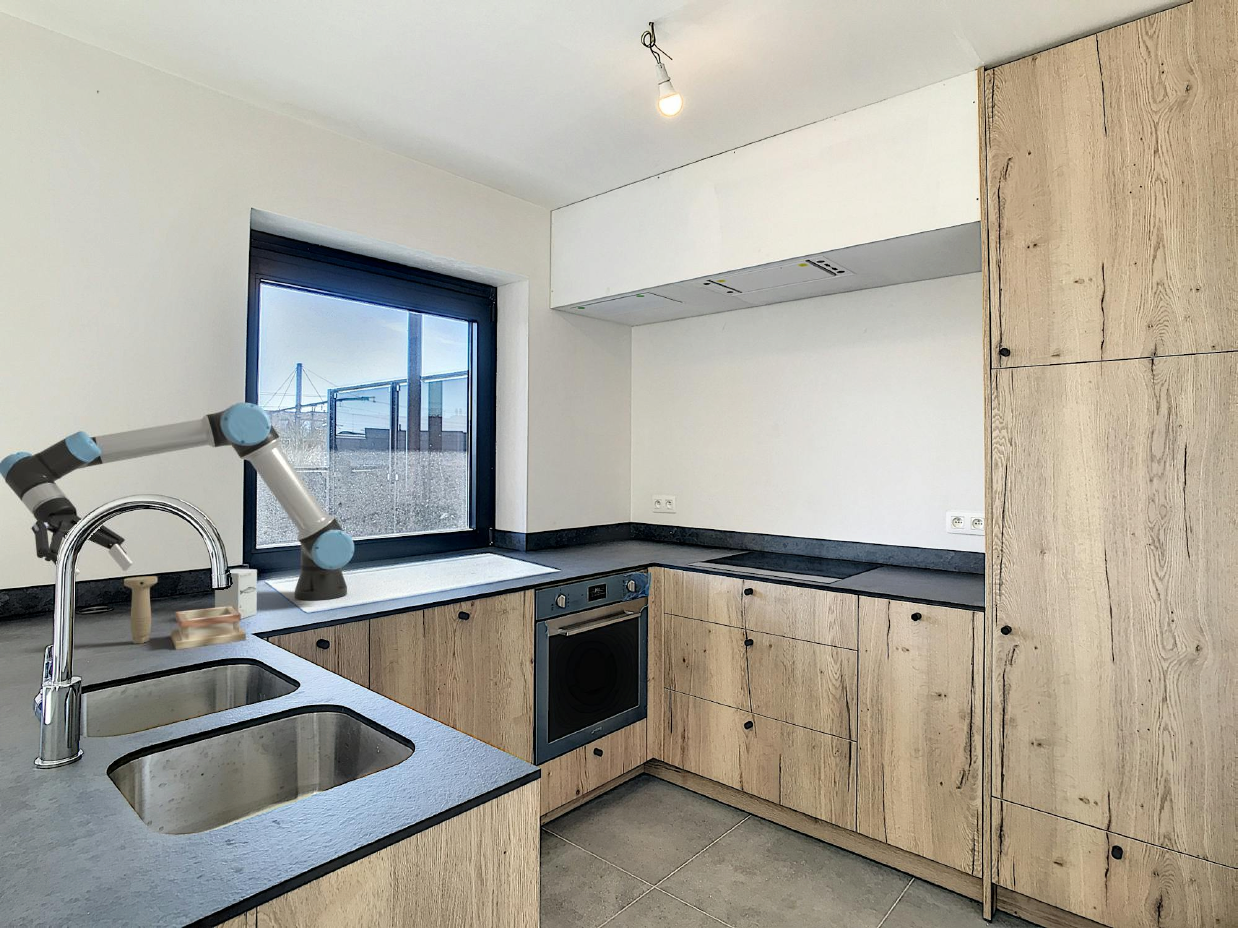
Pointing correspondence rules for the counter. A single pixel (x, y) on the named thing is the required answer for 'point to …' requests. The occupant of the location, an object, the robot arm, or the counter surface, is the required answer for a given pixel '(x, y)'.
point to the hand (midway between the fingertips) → (103, 571)
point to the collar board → (207, 627)
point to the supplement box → (240, 592)
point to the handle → (140, 607)
